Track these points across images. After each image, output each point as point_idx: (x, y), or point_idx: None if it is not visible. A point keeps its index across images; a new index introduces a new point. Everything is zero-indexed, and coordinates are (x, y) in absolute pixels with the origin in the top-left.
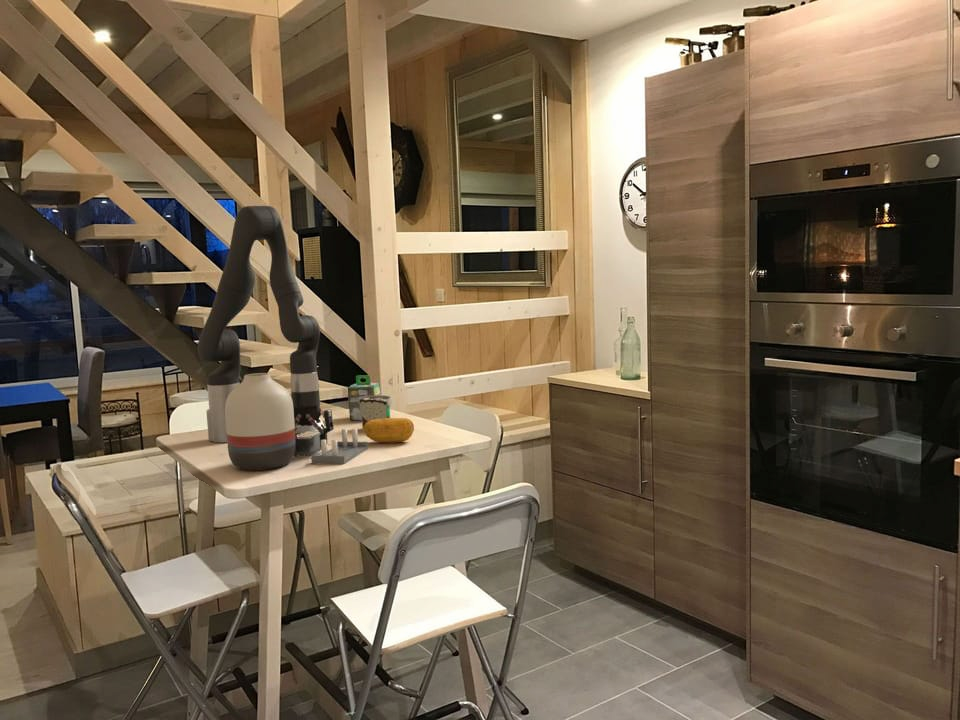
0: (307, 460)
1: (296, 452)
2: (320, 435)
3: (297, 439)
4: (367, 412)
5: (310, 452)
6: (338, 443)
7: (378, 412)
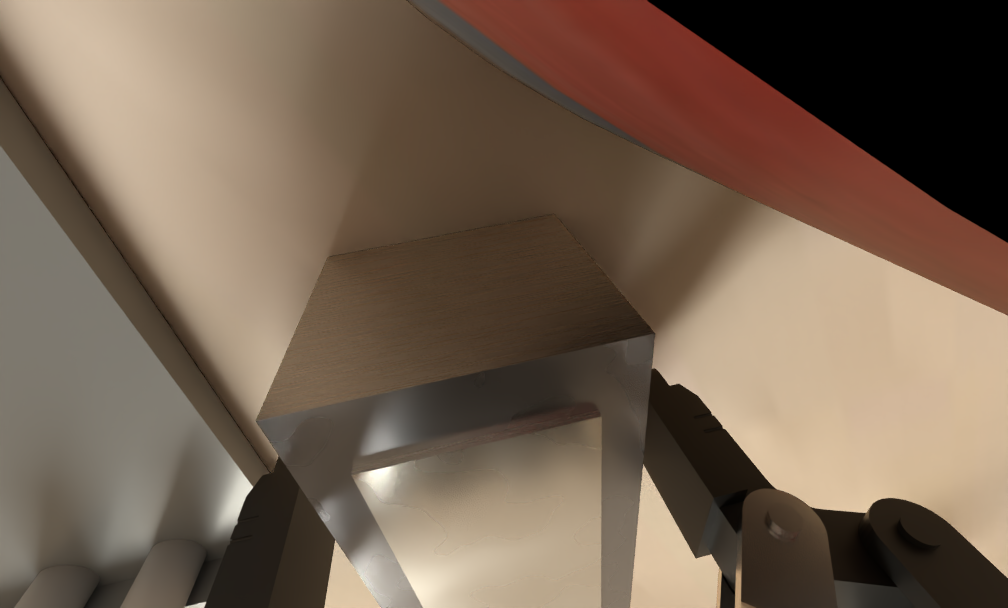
0: (158, 24)
1: (509, 240)
2: (254, 600)
3: (521, 352)
4: None
5: (320, 286)
6: None
7: None
